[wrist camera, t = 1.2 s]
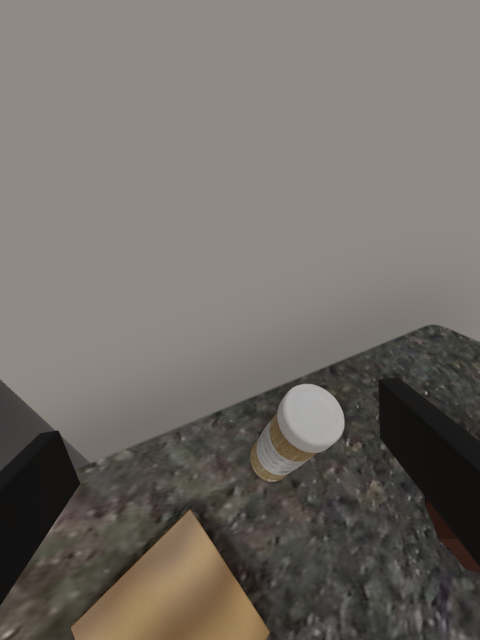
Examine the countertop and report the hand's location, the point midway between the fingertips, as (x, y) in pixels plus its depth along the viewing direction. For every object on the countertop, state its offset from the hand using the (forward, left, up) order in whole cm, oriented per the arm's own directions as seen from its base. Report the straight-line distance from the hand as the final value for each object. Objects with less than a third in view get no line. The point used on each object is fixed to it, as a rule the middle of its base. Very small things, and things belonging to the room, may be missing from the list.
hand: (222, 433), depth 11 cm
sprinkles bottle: (+2, +8, -20) cm, 21 cm away
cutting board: (+5, -6, -19) cm, 21 cm away
